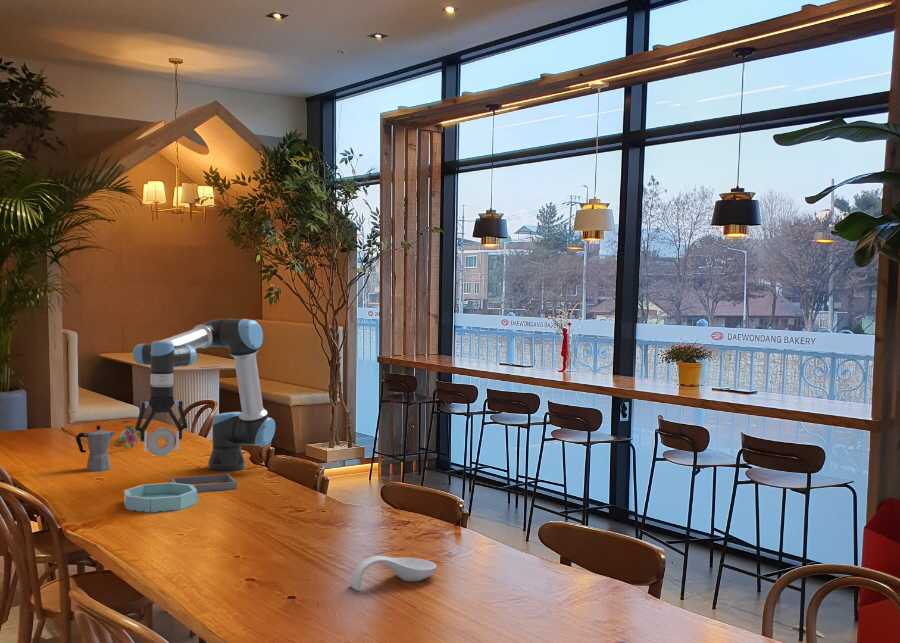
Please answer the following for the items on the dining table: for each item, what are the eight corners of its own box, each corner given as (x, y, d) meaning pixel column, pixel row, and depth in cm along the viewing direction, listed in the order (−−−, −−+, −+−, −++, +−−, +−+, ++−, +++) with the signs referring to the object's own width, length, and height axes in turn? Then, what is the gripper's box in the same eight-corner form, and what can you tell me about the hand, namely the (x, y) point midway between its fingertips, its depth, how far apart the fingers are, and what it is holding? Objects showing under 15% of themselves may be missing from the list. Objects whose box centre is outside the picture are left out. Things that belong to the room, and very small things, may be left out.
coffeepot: (111, 465, 349) (111, 422, 348) (118, 469, 342) (118, 425, 341) (72, 469, 339) (72, 425, 339) (78, 473, 332) (79, 428, 331)
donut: (148, 458, 283) (148, 429, 283) (144, 456, 286) (145, 427, 285) (177, 455, 289) (177, 426, 289) (173, 453, 292) (173, 425, 292)
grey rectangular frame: (228, 480, 326) (228, 473, 326) (236, 488, 312) (236, 482, 312) (170, 484, 316) (170, 478, 316) (176, 493, 302) (177, 486, 302)
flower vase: (132, 455, 409) (142, 451, 379) (107, 449, 405) (115, 444, 374) (139, 431, 413) (150, 426, 383) (114, 425, 408) (123, 419, 378)
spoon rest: (420, 568, 226) (421, 541, 226) (444, 580, 216) (445, 553, 216) (342, 583, 213) (343, 555, 212) (365, 597, 203) (365, 568, 203)
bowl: (189, 493, 304) (189, 480, 303) (200, 507, 283) (200, 494, 283) (122, 498, 293) (122, 486, 293) (128, 514, 273) (128, 501, 273)
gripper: (128, 387, 279) (127, 453, 279) (197, 385, 289) (196, 449, 289) (126, 385, 285) (125, 449, 286) (193, 383, 295) (192, 445, 296)
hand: (161, 449), depth 288 cm, fingers closed on donut, 10 cm apart
